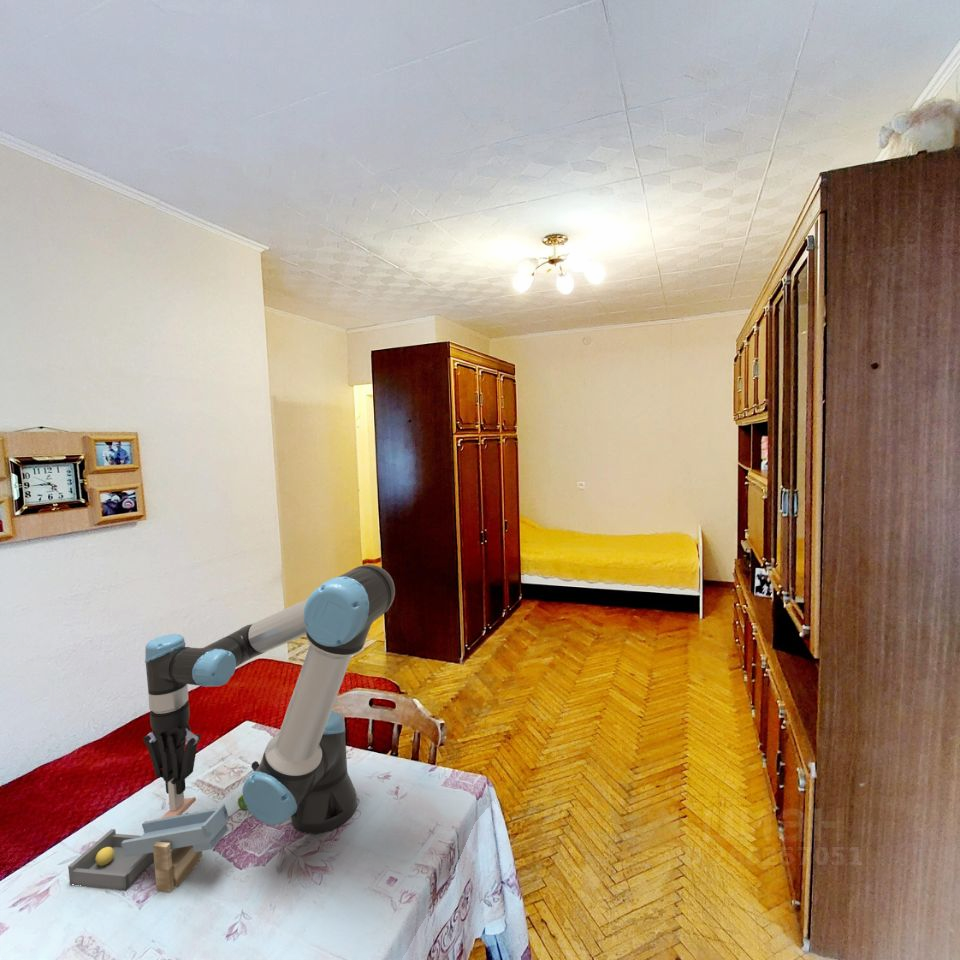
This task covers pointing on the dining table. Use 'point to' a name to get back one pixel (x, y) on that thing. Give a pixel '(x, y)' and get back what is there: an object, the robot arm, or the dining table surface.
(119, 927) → the dining table surface
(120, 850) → the tray
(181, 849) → the fulcrum
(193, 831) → the lever
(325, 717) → the robot arm
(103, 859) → the ball
